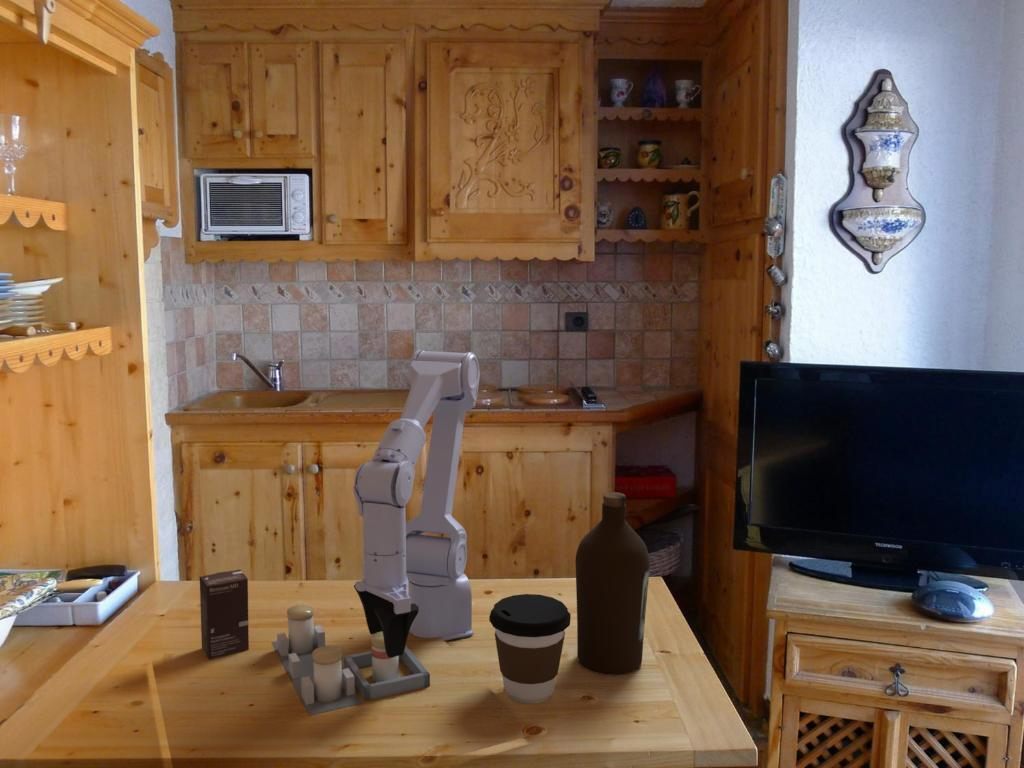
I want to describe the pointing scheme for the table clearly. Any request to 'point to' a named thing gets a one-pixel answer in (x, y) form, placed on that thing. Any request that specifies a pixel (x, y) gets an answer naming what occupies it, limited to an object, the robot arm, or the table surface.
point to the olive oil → (611, 592)
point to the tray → (388, 686)
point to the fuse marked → (382, 660)
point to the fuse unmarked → (327, 673)
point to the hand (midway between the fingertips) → (386, 643)
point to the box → (224, 613)
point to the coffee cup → (529, 644)
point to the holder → (303, 675)
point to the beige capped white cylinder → (300, 629)
